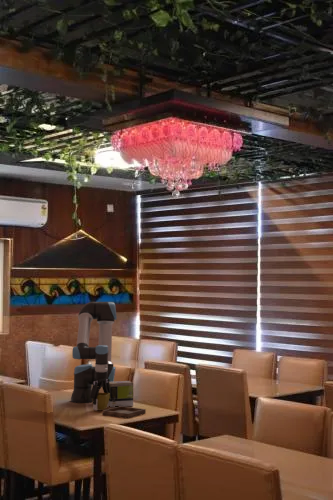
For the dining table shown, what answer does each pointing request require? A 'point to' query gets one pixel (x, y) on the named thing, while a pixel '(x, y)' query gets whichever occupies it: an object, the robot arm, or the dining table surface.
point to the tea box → (121, 393)
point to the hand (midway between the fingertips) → (100, 408)
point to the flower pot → (102, 400)
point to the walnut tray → (124, 412)
